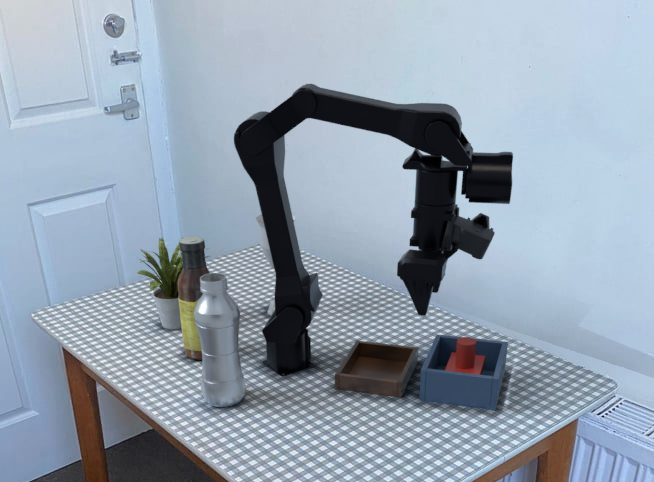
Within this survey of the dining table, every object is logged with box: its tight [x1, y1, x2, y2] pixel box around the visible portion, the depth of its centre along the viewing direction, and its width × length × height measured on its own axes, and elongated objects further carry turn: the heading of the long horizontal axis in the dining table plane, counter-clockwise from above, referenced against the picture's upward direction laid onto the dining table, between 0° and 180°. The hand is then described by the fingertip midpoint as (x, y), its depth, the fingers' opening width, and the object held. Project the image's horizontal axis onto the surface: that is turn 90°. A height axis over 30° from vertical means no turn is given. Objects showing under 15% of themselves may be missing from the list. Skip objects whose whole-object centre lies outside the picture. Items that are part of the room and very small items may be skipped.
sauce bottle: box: [177, 236, 210, 361], centre depth 130 cm, size 6×6×20 cm
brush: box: [445, 336, 485, 375], centre depth 119 cm, size 8×5×7 cm
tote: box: [419, 334, 509, 411], centre depth 120 cm, size 11×13×6 cm
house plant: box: [136, 237, 211, 330], centre depth 141 cm, size 14×14×16 cm
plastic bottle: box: [194, 272, 247, 408], centre depth 115 cm, size 6×7×20 cm
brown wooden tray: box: [334, 340, 419, 399], centre depth 124 cm, size 10×12×3 cm
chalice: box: [255, 214, 296, 316], centre depth 145 cm, size 7×7×18 cm
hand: (428, 303), depth 119 cm, fingers open, 9 cm apart
